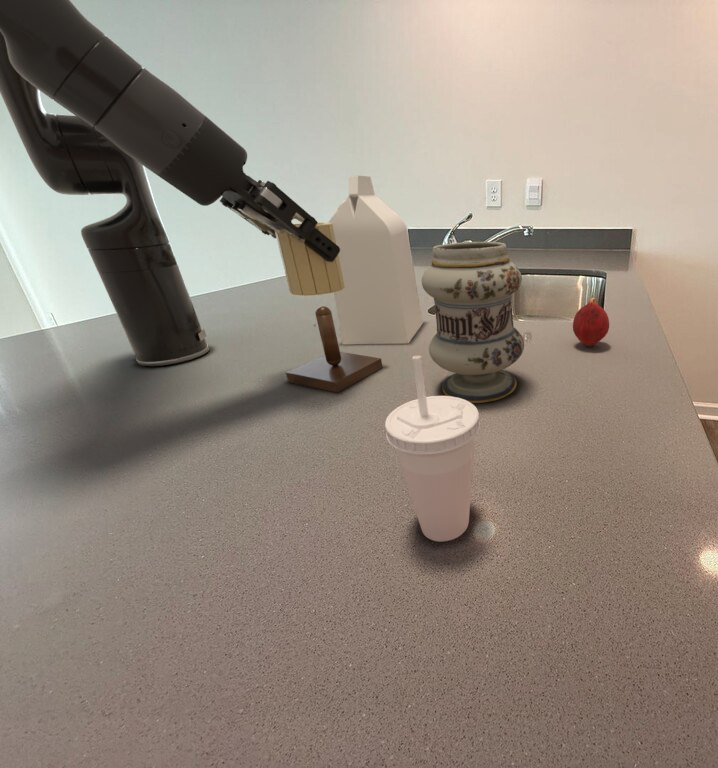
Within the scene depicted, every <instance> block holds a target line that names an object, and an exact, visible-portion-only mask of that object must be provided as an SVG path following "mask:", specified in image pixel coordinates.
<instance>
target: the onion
mask: <svg viewBox="0 0 718 768" xmlns="http://www.w3.org/2000/svg"><path fill="white" fill-rule="evenodd" d="M597 301H598V300H597V299H596V298H595V297H591V298H589V300H588V302H587V303H586V304H585V305H583V306H582V307H580V308H579V309H578V311H576V314H575V315H574V318H573V321H572V330H573V331H572V332H573V334H574V336H575V337H576V338H577V339H578V341H579V342H581V343H582V344H583V345H585V346H586V347H593V346H595V345H597V344H598V343H599V342H601V340H603V339H605V338H606V336H607V334H608V333H609V330H610V320H609V316H608V313H607V312H606V310H605V309H604V308H603V307H602V306H600V304H598V303H597Z"/></svg>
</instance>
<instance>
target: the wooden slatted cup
mask: <svg viewBox="0 0 718 768" xmlns="http://www.w3.org/2000/svg"><path fill="white" fill-rule="evenodd" d="M293 224H294V225H295V226H296V227H297V228H299V227H300V225H301V224H302V223H301V222H296V223H294V222H293ZM315 228H316V229H318V230H319V231H320V232H321V233H323V234H324V235H325V236H326V237H327V238H329V239H330V240H331V241H332V242H334V243H335V244H336V240H335V235H334V230H333V225H332V223H328V222H318V223H317V225H316V227H315ZM274 231H275V230H274ZM275 235H276V238H275V239H276V242H277V246H278V250H279V254H280V258H281V262H282V266H283V270H284V274H285V278H286V282H287V285H288V289H289V293H290V294H291V295H294V296H305V297H306V296H319V295H326V294H334V292H337V291H340V290H342V289H343V288H344V281H343V276H342V271H341V266H340V261H339V256H338V255H337V257H336V258H335V260H334V261H333V262H329V261H326V260H325V259H323V258H322V257H321V256H319V255H318V254H317V253H315V252H314V251H313V250H311V249H310V248H309V247H307V246H306V245H305V244H304V243H302V242H299V241H298V240H297V239H296V238H294V237H292V236H291V235H289V234H288V233H278V232H276V231H275Z"/></svg>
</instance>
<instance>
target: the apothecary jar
mask: <svg viewBox="0 0 718 768" xmlns="http://www.w3.org/2000/svg"><path fill="white" fill-rule="evenodd" d="M507 248H508V247H507V245H506V243H504V242H499V241H498V242H497V241H466V242H465V241H464V242H453V243H444V244H438V245H435V246H433V247H432V258H431V265H429V266H428V267H427V268H426V269H425V270H424V271H423V274H422V276H421V287H422V289H423V290H424V292H425V293H426V294H427V295H428V296H430V297H431V298H433V301H434V310H435V311H434V312H435V320H436V333H435V334H434V335H433V337H432V338H431V340H430V342H429V345H428V353H429V356H430V358H431V360H432V361H433V362H434V363H435V364H436V365H437V366H439V367H440V368H442V369H443V370H445V371H448V372H449V373H453V374H451V375H449V376H447V378H445V380H444V381H443V383H442V387H441V388H442V392H443V394H444V396H452V397H457V398H461V399H464V400H466V401H468V402H470V403H472V404H483V403H488V402H490V403H491V402H495V401H499V400H501V399H503V398H506V397H508V396H509V395H510V394H512V393H513V392H514V391H515V390H516V388H517V378H515V376H514V375H513V374H511V373H510V372H508V371H506V370H505V369H507V368H509V367H511V366H512V365H513V364H515V363H516V362H517V361H518V360H519V359H520V358H521V356H522V355H523V353H524V350H525V341H524V337H523V336H522V334H521V332H520V331H519V330H518V329H517V328H515V325H514V316H513V315H514V314H513V295H514V293H515V292H517V291H518V290H519V289H520V288H521V285H522V280H523V277H522V272H521V271H520V269H519V267H518V266H517V265H516V264H515V263H513V262H512V261H510V257H509V255H508V249H507Z"/></svg>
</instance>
